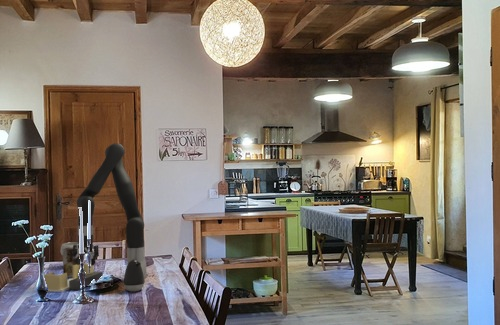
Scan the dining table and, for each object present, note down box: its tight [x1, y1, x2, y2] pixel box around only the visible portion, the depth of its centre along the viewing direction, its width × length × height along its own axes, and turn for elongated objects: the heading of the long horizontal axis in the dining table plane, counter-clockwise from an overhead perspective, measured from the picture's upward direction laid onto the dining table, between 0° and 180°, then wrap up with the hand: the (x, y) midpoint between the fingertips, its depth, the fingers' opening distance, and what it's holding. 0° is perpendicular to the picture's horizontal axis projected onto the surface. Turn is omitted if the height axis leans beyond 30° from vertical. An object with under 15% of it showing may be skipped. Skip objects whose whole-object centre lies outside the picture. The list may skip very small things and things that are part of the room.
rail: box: [68, 271, 103, 291], centre depth 252 cm, size 5×22×5 cm, turn 165°
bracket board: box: [43, 263, 94, 293], centre depth 255 cm, size 12×30×8 cm, turn 165°
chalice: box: [60, 241, 79, 256], centre depth 301 cm, size 14×14×15 cm
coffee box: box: [62, 247, 79, 278], centre depth 275 cm, size 9×6×16 cm
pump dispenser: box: [123, 260, 146, 293], centre depth 238 cm, size 10×10×15 cm
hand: (85, 265), depth 253 cm, fingers open, 8 cm apart
